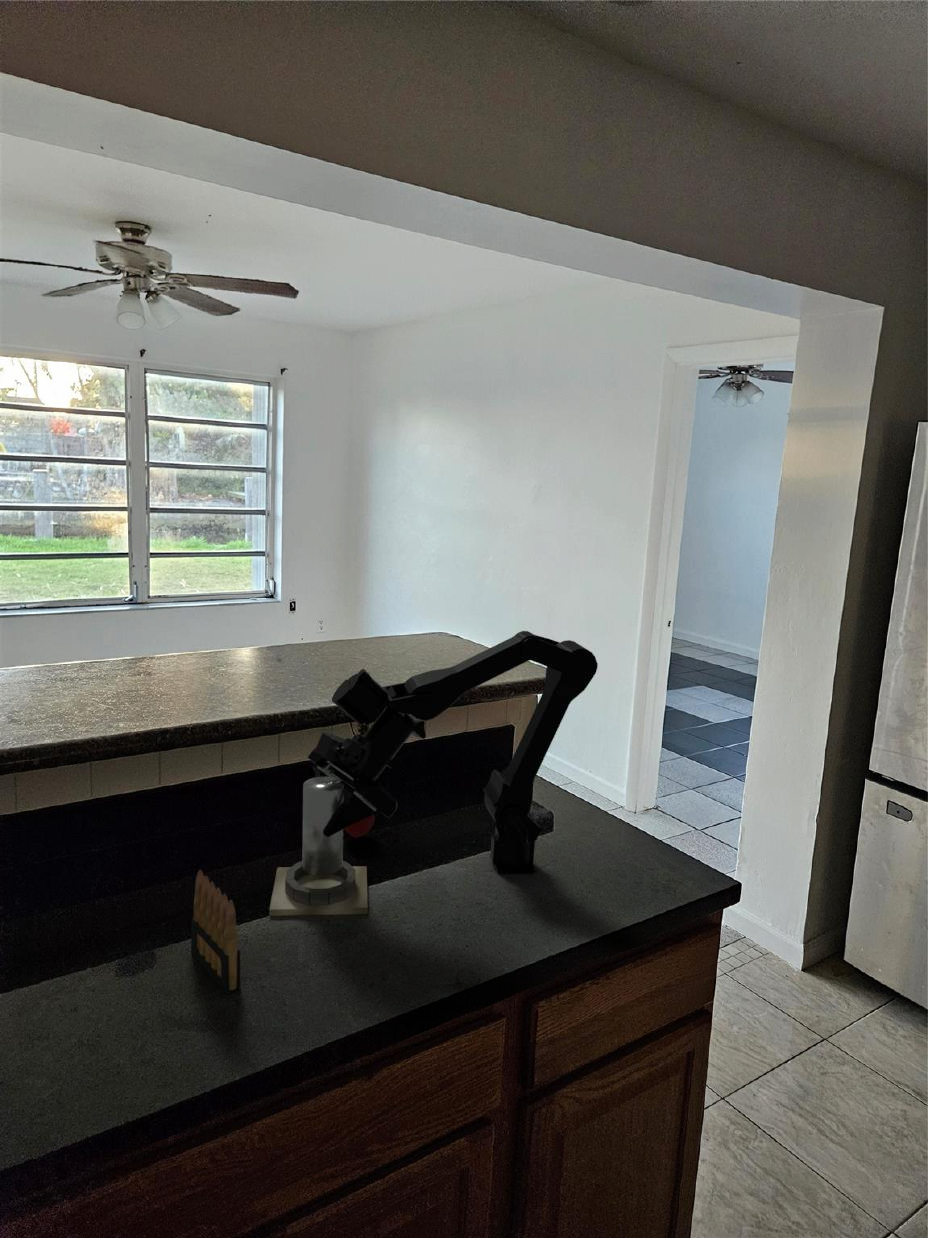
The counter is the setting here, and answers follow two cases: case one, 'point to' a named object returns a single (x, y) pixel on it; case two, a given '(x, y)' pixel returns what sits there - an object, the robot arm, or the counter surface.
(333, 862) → the steel peg
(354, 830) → the onion
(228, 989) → the ammunition clip
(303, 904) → the socket plate
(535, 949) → the counter surface
